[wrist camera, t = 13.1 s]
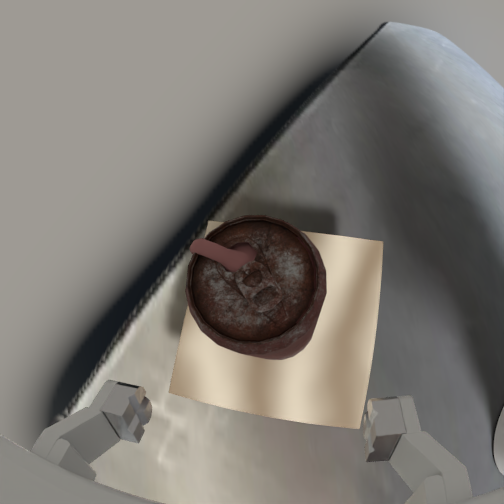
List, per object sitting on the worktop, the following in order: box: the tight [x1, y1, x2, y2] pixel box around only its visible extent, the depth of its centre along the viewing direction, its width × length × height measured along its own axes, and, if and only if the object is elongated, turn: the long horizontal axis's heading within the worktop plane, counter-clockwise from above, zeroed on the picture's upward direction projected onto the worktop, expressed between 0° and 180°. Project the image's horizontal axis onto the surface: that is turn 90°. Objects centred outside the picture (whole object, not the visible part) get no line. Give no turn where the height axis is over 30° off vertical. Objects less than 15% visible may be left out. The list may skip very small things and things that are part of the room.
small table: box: [169, 221, 383, 429], centre depth 29 cm, size 16×16×7 cm
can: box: [186, 215, 327, 360], centre depth 19 cm, size 6×6×14 cm
